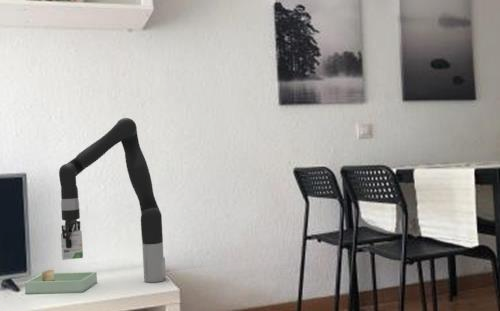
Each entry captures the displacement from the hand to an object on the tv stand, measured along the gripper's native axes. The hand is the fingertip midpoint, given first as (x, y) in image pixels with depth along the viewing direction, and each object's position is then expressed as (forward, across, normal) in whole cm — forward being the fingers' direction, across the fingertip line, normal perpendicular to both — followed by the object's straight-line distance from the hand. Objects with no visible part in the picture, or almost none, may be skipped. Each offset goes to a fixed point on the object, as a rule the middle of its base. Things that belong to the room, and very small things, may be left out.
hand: (72, 246), depth 225 cm
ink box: (+5, 0, 0) cm, 5 cm away
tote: (+18, 0, +6) cm, 19 cm away
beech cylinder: (+18, 0, +12) cm, 21 cm away
